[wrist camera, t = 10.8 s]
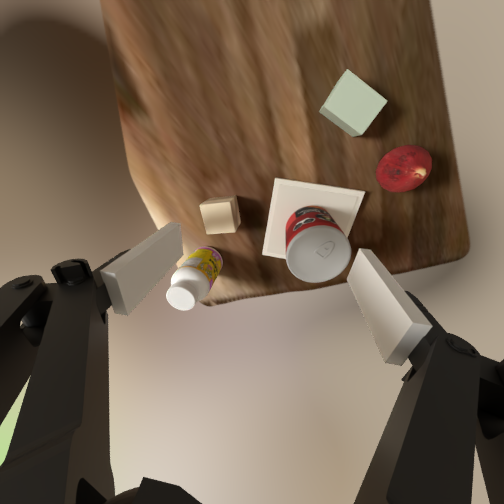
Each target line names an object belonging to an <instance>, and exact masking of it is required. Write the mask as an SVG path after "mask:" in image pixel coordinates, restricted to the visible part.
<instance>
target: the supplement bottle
mask: <svg viewBox="0 0 504 504" xmlns="http://www.w3.org/2000/svg"><path fill="white" fill-rule="evenodd" d="M222 265H223V260H222V257H221V255H220V253H219V252H218V251H217V250H215V249H214V248H211V247H208V246H203V247H199V248H197V249H196V250H195V251H194V252H193V253H192V254H191V255H190V256H189V257H188V259H187V260H186V261H185V262H184V263H183V264H182V265H181V266H180V267H179V269H178V270H177V271H176V272H175V273H174V274H173V276H172V279H171V287H170V288H169V290H168V291H167V294H166V297H167V300H168V302H169V303H170V304H171V305H172V306H173V307H175V308H176V309H179V310H190V309H192V308H193V307H194V306H195V304H196V302H197V301H200V300H202V299H204V298H205V297H206V296H207V294H208V293H209V291H210V289H211V287H212V285H213V283H214V281H215V279H216V278H217V276H218V274H219V272H220V270H221V268H222Z"/></svg>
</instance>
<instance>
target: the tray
mask: <svg viewBox="0 0 504 504" xmlns="http://www.w3.org/2000/svg"><path fill="white" fill-rule="evenodd" d="M364 194H365V191H363V190H356V189H350V188H343V187H337V186H330V185H324V184H317V183H310V182H304V181H297V180H291V179H284V178H278V177H275V183H274V189H273V194H272V200H271V206H270V212H269V218H268V223H267V229H266V235H265V241H264V247H263V253H262V255H267V256H273V257H278V258H284V259H286V240H285V228H286V223H287V221H288V219H289V218H290V216H291V215H292V214H293V213H294V212H295V211H297V210H298V209H300V208H302V207H305V206H319V207H322V208H323V209H325V210H326V211H327V212H328V213H329V214H330V215H331V216H332V218H333V219H334V220H335V222H336V223H337V224H338V226H339V227H340V228H341V230H342V231H343V233H344V234H345V236H346V237H347V238H348V235H349V233H350V230H351V227H352V225H353V222H354V220H355V217H356V214H357V212H358V209H359V207H360V204H361V202H362V199H363V196H364Z"/></svg>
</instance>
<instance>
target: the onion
mask: <svg viewBox="0 0 504 504" xmlns="http://www.w3.org/2000/svg"><path fill="white" fill-rule="evenodd" d="M431 169H432V159H431V156H430V154H429V152H428V151H427V150H425V149H423V148H422V147H420V146H416V145H405V146H401V147H397V148H395V149H393V150H391V151H390V152H388V153H387V154H386V155H385V156H384V157H383V158H382V159H381V160H380V162H379V164H378V166H377V169H376V179H377V181H378V182H379V184H380V185H381V186H382V188H384V189H386V190H388V191H391V192H405V191H409V190H413V189H415V188H416V187H417V186H419V185H420V184H422V183H423V182H424V180H425V179H426V178H427V177H428V175H429V173H430V171H431Z"/></svg>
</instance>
